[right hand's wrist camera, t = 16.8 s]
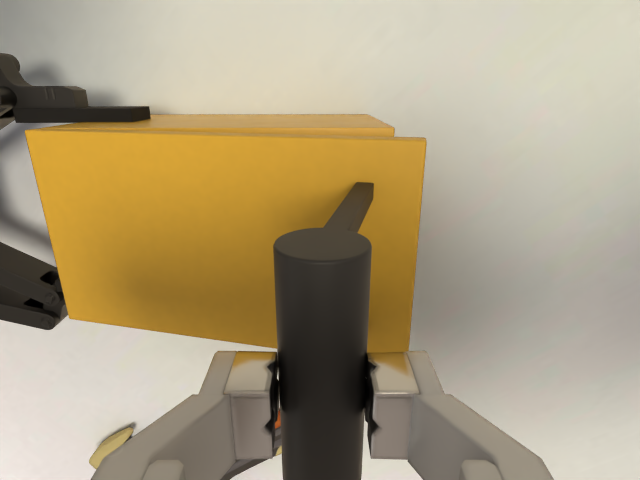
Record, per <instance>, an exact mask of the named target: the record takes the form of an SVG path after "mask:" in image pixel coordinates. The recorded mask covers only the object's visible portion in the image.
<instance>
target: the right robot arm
mask: <svg viewBox="0 0 640 480" xmlns="http://www.w3.org/2000/svg"><path fill="white" fill-rule="evenodd" d="M277 373H278V355H277V352H256V351H238V352H237V351H218V352H216V353H215V354H214V357H213V359H212V362H211V364H210V367H209V369H208V372H207V374H206V377H205V379H204V382H203V384H202V387H201V389H200V392H199V394H198V395H191V396H190V397H188V398H187V399H186V400H184V401H183V402H181V403H180V404H179V405H177V406H176V407H174V408H173V409H172V410H170V411H169V412H167V413H166V414H165V415H163V416H162V417H160V418H159V419H157V420H156V421H155V422H153V423H152V424H150V425H149V426H148V427H146V428H145V429H143V430H142V431H141V432H139V433H138V434H136V435H135V436H134V437H132V438H131V439H129V440H128V441H127V442H125V443H124V444H122V445H121V446H120V447H118V448H117V449H115V450H114V451H113V452H111V453H110V454H108V455H107V456H105V457H104V458H103V460H102V461H101V463H100V465H99V466H98V468H97V470H96V472H95V473H94V475H93V477H92V478H91V480H220V479H221V478H222V477H223V476H224V475H225V474H226V472H227V471H228V470H229V469H230V468H231V466H232V465H233V464H234V463H235V460H237V459H271V458H272V457H273V450H274V443H275V422H276V421H277V420H278V411H279V381H278V379H277ZM364 413H365V421H366V422H367V423H368V442H369V449H370V456H371V459H406V460H408V462H409V463H410V465H411V466H412V467H413V468H414V469H415V470H416V472H417V473H418V474H419V475H420V476H421V478H422V479H423V480H554V479H553V477H552V476H551V474H550V472H549V471H548V469H547V467H546V466H545V464H544V462H543V461H542V459H541V458H540V457H538V456H537V455H536V454H534V453H533V452H531V451H530V450H529V449H527V448H526V447H524V446H523V445H521V444H520V443H519V442H517V441H516V440H514V439H513V438H512V437H510V436H509V435H507V434H506V433H505V432H503V431H502V430H500V429H499V428H497V427H496V426H495V425H493V424H492V423H490V422H489V421H488V420H486V419H485V418H483V417H482V416H481V415H479V414H478V413H476V412H475V411H473V410H472V409H471V408H469V407H468V406H466V405H465V404H464V403H462V402H461V401H459V400H458V399H456V398H455V397H454V396H452V395H445V393H444V391H443V389H442V386H441V384H440V381H439V379H438V377H437V374H436V372H435V369H434V367H433V365H432V362H431V360H430V357H429V355H428V353H427V352H426V351H405V352H367V354H366V384H365V397H364Z"/></svg>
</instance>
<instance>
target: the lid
mask: <svg viewBox="0 0 640 480" xmlns="http://www.w3.org/2000/svg"><path fill="white" fill-rule="evenodd" d="M25 135H26V140H27V144H28V148H29V152H30V156H31V160H32V165H33V169H34V173H35V177H36V181H37V186H38V190H39V194H40V198H41V202H42V206H43V211H44V215H45V219H46V223H47V227H48V232H49V236H50V240H51V244H52V248H53V252H54V257H55V261H56V265H57V269H58V273H59V278H60V282H61V286H62V290H63V294H64V298H65V303H66V307H67V311H68V315H69V318H70V319H75V320H82V321H89V322H96V323H103V324H110V325H117V326H124V327H131V328H138V329H144V330H151V331H158V332H165V333H172V334H179V335H186V336H193V337H200V338H207V339H214V340H221V341H228V342H235V343H242V344H249V345H256V346H263V347H270V348H277V350H278V374H279V397H280V421H281V445H282V469H283V480H361V474H362V452H363V431H364V397H365V384H366V354H367V352H405V351H409V339H410V328H411V316H412V304H413V293H414V281H415V270H416V258H417V247H418V235H419V224H420V212H421V201H422V189H423V177H424V166H425V154H426V138H419V137H378V136H338V135H297V134H257V133H216V132H176V131H135V130H95V129H54V128H40V129H30V130H26V131H25Z"/></svg>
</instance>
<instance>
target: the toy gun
mask: <svg viewBox="0 0 640 480" xmlns="http://www.w3.org/2000/svg"><path fill="white" fill-rule="evenodd" d="M132 433H133V428H126V429H124V430H122V431H120V432H118V433H116V434H114V435H112V436H110V437H109V438H107V439H106V440H105V441H104V442H102V443H101V444H100V446H99V447H98V448H97V449H96V451H95V452H94V454H93V455H92V456H91V458H90V460H89V463H90V464H91V465H92V466H93V467H94V468H95V469H97V468H98V466H99V465H100V463H101V461H102V460H103V458H104V457H105V456H107V455H108V454H110V453H111V452H113V451H114V450H115V449H117V448H118V447H120V446H121V445H122V444H124V443H125V442H127V441H128V440H129V437H130V435H131V434H132ZM281 453H282V445H281V421H280V411H278V420H277V421H276V422H275V443H274V450H273V457H274V456H277V455H279V454H281ZM265 460H267V459H237V460H235V463H234V464H233V465H232V466H231V468H230V469H229V470H228V471H227V472H226V474H225V475H224V476H223V477H222V478H221V479H220V480H230V479H231V478H232V477H234V476H235V475H237V474H239V473H241V472H243V471H245V470H247V469H249V468H251V467H253V466H255V465H257V464H259V463H261V462H263V461H265Z"/></svg>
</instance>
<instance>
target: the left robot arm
mask: <svg viewBox="0 0 640 480" xmlns="http://www.w3.org/2000/svg"><path fill="white" fill-rule="evenodd" d="M19 71H20V65H19V62H18V60H17V59H16V58H15V57H14V56H13V55H10V54H4V53H0V129H2V128H3V127H5V126H6V125H8V124H9V123H11V122H12V121H14V120H15V121H16V123H80V122H136V121H142V120H147V119H151V117H150V109H149V106H117V107H89V106H88V100H87V95H86V90H84V89H82V88H79V87H77V86H32V85H30V84H28V83H27V82H26V81H25V80H24V79H23V78H22V76H21V75H20V73H19ZM67 315H68V311H67V307H66V303H65V298H64V294H63V290H62V286H61V282H60V278H59V273H58V269H57V268H56V267H54V266H52V265H49V264H47V263H45V262H43V261H41V260H38V259H36V258H34V257H32V256H30V255H27V254H25V253H23V252H21V251H19V250H16V249H14V248H12V247H10V246H8V245H5V244H3V243H1V242H0V320H4V321H9V322H13V323H18V324H22V325H27V326H31V327H36V328H40V329H45V330H50V329H53V328H54V327H55V326H56V325H57V324H58V323H60V322H61V321H62V320H63V319H64V318H65V317H66V316H67Z"/></svg>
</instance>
